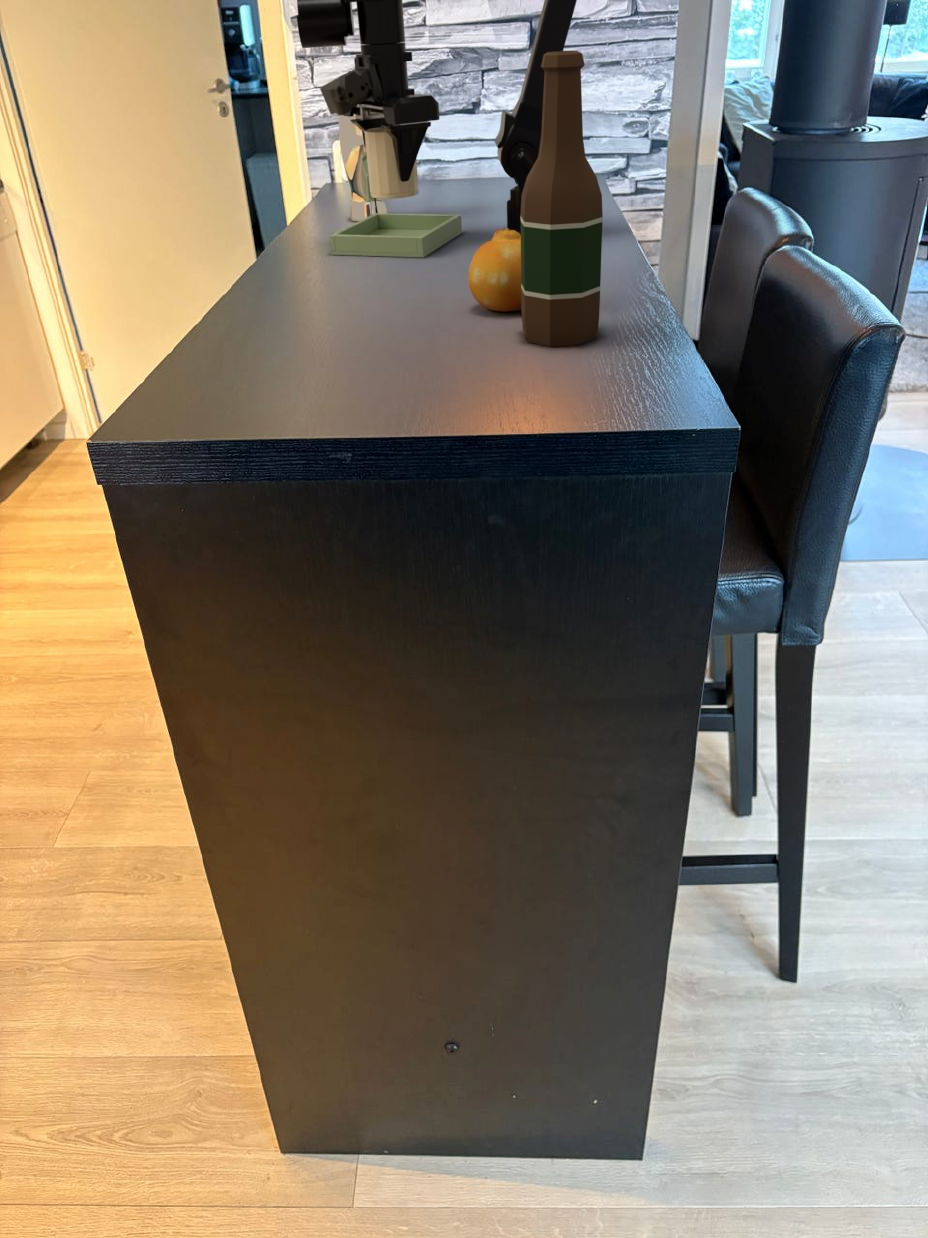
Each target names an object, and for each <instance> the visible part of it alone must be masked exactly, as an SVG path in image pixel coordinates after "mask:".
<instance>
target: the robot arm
mask: <svg viewBox="0 0 928 1238" xmlns="http://www.w3.org/2000/svg"><path fill="white" fill-rule="evenodd" d="M577 2H578V0H544V1H543V5H542V9H541V13H540V17H539V21H538V24H537V29H536V33H535V36H534V39H533V44H532V48H531V51H530V55H529V60H528V64H527V68H526V72H525V75H524V79H523V83H522V87H521V91H520V95H519V97H518V100H517V101H516V104H515V106H514V108H513V109H512V111H511V112H509V111H507V110H505V109H502V111H501V117H500V126H499V131H498V133H497V135H496V137H495V138H494V140H493V142H494V144H495V146H496V147H497V159H498V161H499V163H500V165H501V167H502V169H503V171H504V172H505V174H506V175H507V176H508V177H510V179H513V180H514V183H515V185H516V186H514V187H512V188H510V189H509V191H510V192H509V199H508V200H507V201H506V228H509V230H515V231H516V232H518V233H519V234H520V235H521V218H520V215H521V198H522V192H523V189H524V185H525V182H526V179H527V176H528V174H529V172H530V171H531V169H532V167H533V165H534V164H535V162H536V160H537V158H538V155H539V148H540V142H541V131H542V112H543V93H544V74H545V70H544V69H543V68H542V67H541V64H542V60H543V56H544V54H546V53H548V52H554V51H564V49H565V45H566V42H567V38H568V34H569V30H570V28H571V23H572V19H573V17H574V16H573V15H574V12H575V9H576V5H577ZM353 3H356V11H357V12H356V13H357V23H358V35H359V45H360V54H359V53H358V54H357V53H356V54H355V57H354V58H353V59H354V61H353V62H354V69H351V70H348V71H347V72H345V73H344V74H342V75H340V76H338V77H336V78H334V79H333V80H331V81H329V82H327V83H326V84H324V85H322V86H321V87H320V88H319V90H320V92H321V95H322V97H323V99H324V102H325V104H326V106H327V109H328V111H329V113H330V115H334V114H337V116H338V115H343V116H348V117H351V116H354V114H355V118H356V119H351V120H350V121H351V122H352V123H353V124H355V125H356V126H357V127H358V128H359V129H361V130H362V131H363V132H364V131H365V130H367V129H371V128H378V127H382V128H383V129H384V130H385V131H386V132H387V133H388V134H389V136H390V137H391V138H392V141H393V146H394V152H395V157H396V162H397V168H398V172H399V176H400V180H401V181H402V182H405V181H409V179H410V176H411V173H412V170H413V167H414V164H415V161H416V160H417V158H418V155H419V152H420V150H421V147H422V144H423V141H424V139H425V136H426V134H427V131H428V129H429V128H430V127H431V126H432V122H434V121H439V120H440V104H439V102H438V100H437V99H435V97H434V96H433V95H432V94H423V93H418V94H417V93H416V92H415V88H410V87H409V77H408V62H413V51H407V48H406V47H407V45H406V32H405V17H404V8H403V7H404V5H403V0H296V6H297V7H296V8H297V14H296V23H297V29H298V30H297V31H298V37H299V42H300V46H301V48H302V49H314V48H330V47H346V46H347V44H348V43H347V41H348V40H347V39H348V37H354V36H355V22H354V13H353V11H354V10H353ZM364 134H365V133H364Z"/></svg>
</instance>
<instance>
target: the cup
mask: <svg viewBox="0 0 928 1238" xmlns="http://www.w3.org/2000/svg"><path fill="white" fill-rule="evenodd" d="M364 133H365V143H366V153H367V164H368V174H369V185H370V193H371V197H373V198H379V199H385V200H393V199H404V198H409V197H414V196H417V195H418V194H419V193H420V190H419V177H418V176H419V175H418V163H417V161H418V160H417V159H416V161H415V164H414V167H413V170H412V173H411V176H410V179H409V181H405V182H402V181H401V180H400V176H399V172H398V168H397V162H396V157H395V152H394V146H393V141H392V138H391V137H390V136H389V134H388V133H387V132H386V131H385V130H384V129H383V128H382V127H378V128H371V129H367V130H365V131H364Z"/></svg>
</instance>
